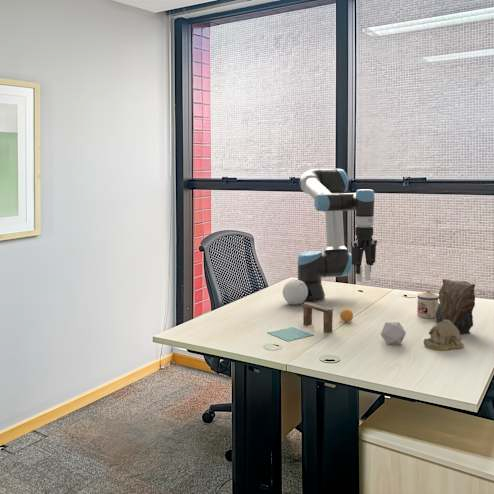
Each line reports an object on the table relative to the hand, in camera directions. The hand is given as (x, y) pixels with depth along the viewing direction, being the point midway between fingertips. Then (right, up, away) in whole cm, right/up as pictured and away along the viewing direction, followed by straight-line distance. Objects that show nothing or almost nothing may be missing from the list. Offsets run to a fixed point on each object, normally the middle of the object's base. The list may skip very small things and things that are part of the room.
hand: (363, 280), depth 239 cm
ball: (-8, -15, -3) cm, 17 cm away
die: (+4, -22, -32) cm, 39 cm away
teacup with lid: (+30, -16, +4) cm, 34 cm away
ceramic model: (+22, -22, -35) cm, 47 cm away
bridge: (-21, -19, -11) cm, 30 cm away
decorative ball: (-27, -13, +28) cm, 41 cm away
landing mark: (-33, -20, -19) cm, 43 cm away
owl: (+31, -19, -18) cm, 41 cm away
